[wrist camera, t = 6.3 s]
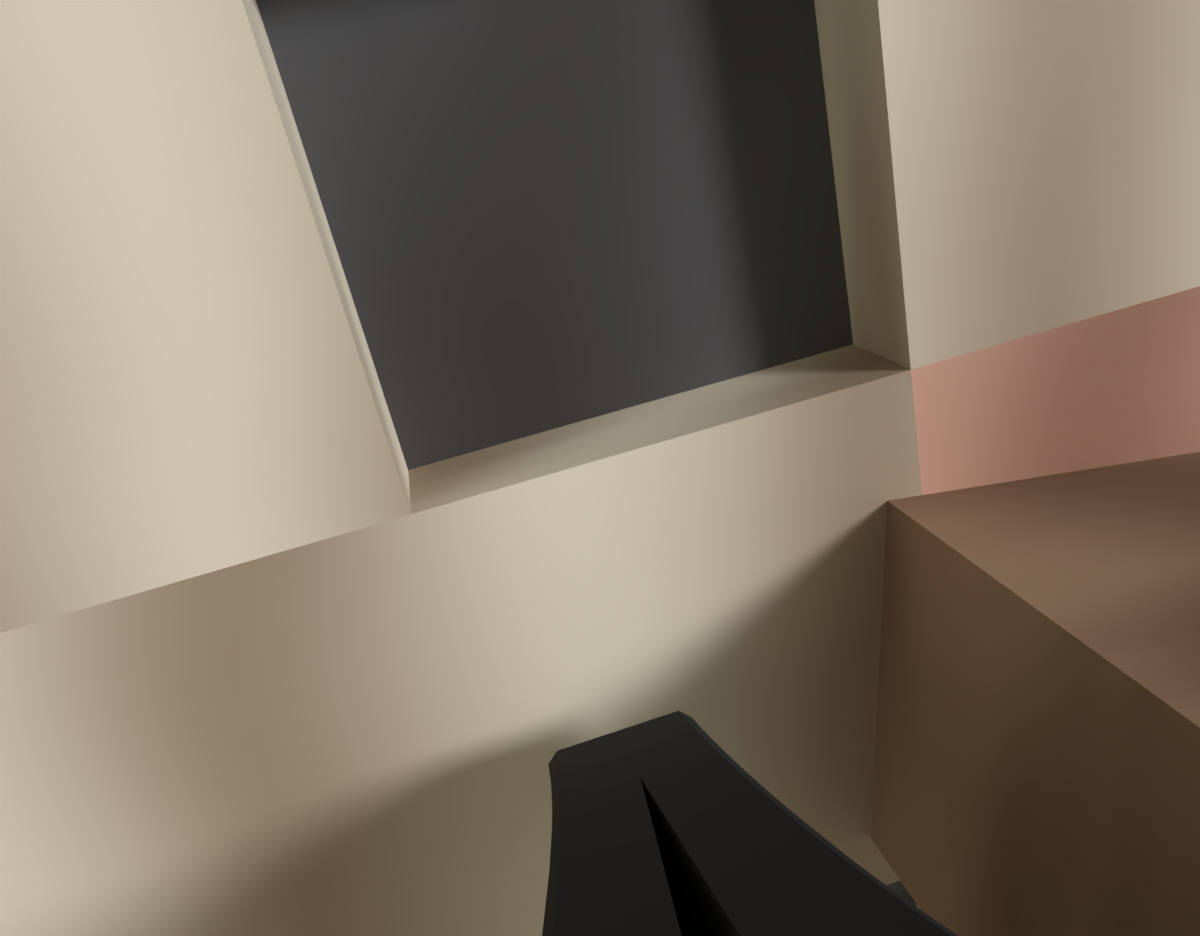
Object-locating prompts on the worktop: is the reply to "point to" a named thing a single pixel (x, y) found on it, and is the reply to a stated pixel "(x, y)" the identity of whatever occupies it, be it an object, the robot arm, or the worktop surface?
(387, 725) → the trap board
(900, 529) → the walnut block
